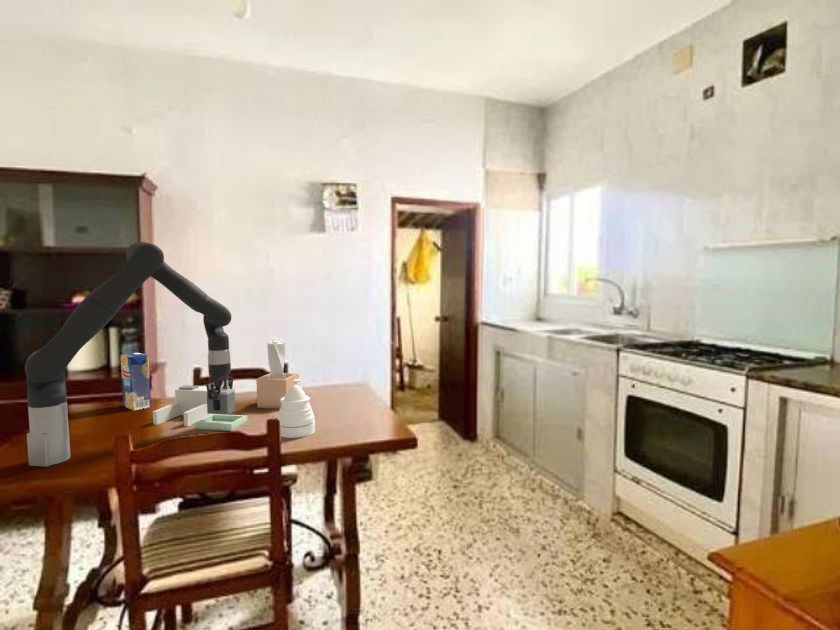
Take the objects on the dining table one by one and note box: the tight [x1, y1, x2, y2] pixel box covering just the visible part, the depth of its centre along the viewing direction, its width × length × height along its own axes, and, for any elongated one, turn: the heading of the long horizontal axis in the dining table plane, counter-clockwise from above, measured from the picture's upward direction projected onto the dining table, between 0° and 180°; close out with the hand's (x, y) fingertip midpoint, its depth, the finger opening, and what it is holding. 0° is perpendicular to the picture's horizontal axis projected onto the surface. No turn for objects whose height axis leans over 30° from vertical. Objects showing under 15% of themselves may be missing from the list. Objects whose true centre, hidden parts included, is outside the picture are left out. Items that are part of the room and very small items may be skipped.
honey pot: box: [276, 378, 316, 439], centre depth 176 cm, size 13×13×18 cm
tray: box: [194, 414, 248, 432], centre depth 184 cm, size 11×14×2 cm
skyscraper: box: [267, 337, 289, 379], centre depth 214 cm, size 8×8×28 cm
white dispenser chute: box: [152, 385, 212, 427], centre depth 195 cm, size 21×14×11 cm, turn 170°
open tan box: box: [255, 372, 300, 409], centre depth 214 cm, size 13×13×12 cm
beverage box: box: [120, 352, 152, 411], centre depth 212 cm, size 7×11×22 cm, turn 49°
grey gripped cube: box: [206, 388, 236, 415], centre depth 184 cm, size 5×8×8 cm, turn 80°
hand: (221, 408), depth 184 cm, fingers closed on grey gripped cube, 5 cm apart
